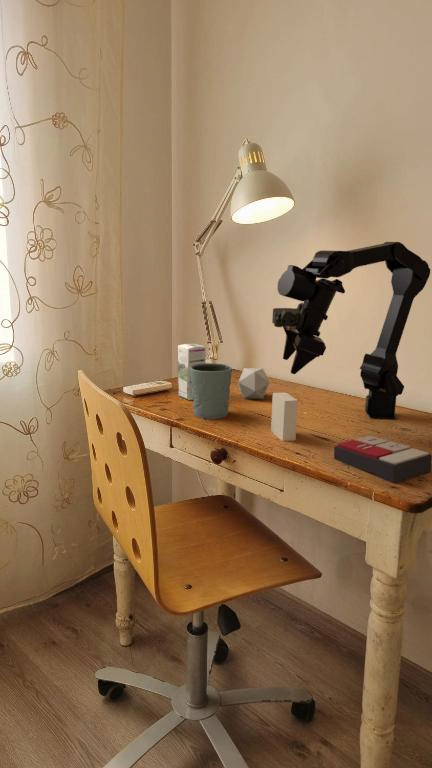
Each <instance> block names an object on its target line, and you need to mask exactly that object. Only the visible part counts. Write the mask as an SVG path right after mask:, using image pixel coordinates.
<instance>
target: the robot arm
mask: <svg viewBox="0 0 432 768" xmlns="http://www.w3.org/2000/svg"><path fill="white" fill-rule="evenodd" d="M381 262H384V263H385V266H386V268H387V270H388V271H390V273H391V274H392V275H391V281H390V283H391V287H392V292H393V294H392V297H391V300H390V303H389V306H388V309H387V313H386V316H385V319H384V323H383V326H382V328H381V331H380V335H379V338H378V341H377V343H376V346H375V349H374V350H373V351H371V353H365V354H364V355H363V359H362V364H361V366H360V367H359V369H360V377H361V380H362V383H363V387H364V389H365V390H368V395H366V396H365V404H364V405H365V406H364V411H365V413H366V415H368V417H369V418H371V419H392V420H393V419H397V416H396V414H395V413H396V405H397V404H396V403H397V397H398V396H400V395H402V394H403V391H404V389H405V385H404V384H403V383H402V381H401V380H400V379H399V377H398V370H399V364H398V358H397V351H398V349H399V346H400V342H401V339H402V337H403V333H404V330H405V327H406V323H407V322H408V318H409V315H410V312H411V308H412V306H413V302H414V299H415V298H416V296H417V295H419V294H420V292H422V291H423V289H424V288H425V286H426V285H427V282H428V280H429V279H430V275H431V268H430V266H429V263H428V262H427V261H426V260H424V259H422V258H421V256H419V254H418V255H417V254H416V253H414V252H413V251H412V250H410V249H408V248H407V247H406V246H405V244H404V243H402V242H400V241H385V242H384V243H380V244H379V243H378V244H374V245H370V246H369V245H368V246H365V247H360V248H359V247H358V248H354V249H351V250H323V249H322V250H318V251H317V252H315V253H314V256H313V257H312V260H311V261H310V262H309V263H307V264H306V265H305V266H304V267H303V268H301V267H299V266H297V265H293V264H289V265H287V269H286V270H285V271H284V272H283V273H282V274H281V276H280V278H279V279H278V281H277V292H278V294H279V295H281V296H282V297H286V298H289V299H292V300H297V301H300V303H298V305H297V307H296V308H295V307H294V308H292V307H279V308H278V307H274V308H273V309H272V319H271V321H272V324H273V325H274V327H275V328H282V329H283V331H284V334H285V343H284V350H283V356H282V359H283V360H285V361H287V360H289V359H290V358H291V357H292V355H293V354H294V353H295V355H294V357H293V362H292V365H291V369H290V374H292V375H296V374H297V373H298V372H300V371H301V370H302V369H303V368H305V366H307V365H308V364H310V363H311V362H312V361H313V360H315V359H316V358H319V357H320V356H324V354H325V352H326V349H327V346H326V343H325V342H324V341H323V339H322V338H321V337H320V335H321V332H320V329H321V326H322V323H323V322H324V321H327V320H328V318H329V316H328V315H327V313H328V311H329V308H330V306H331V304H332V302H333V300H334V297H335V296H336V293H337V292H338V293H340V294H345V293H346V290H345V288H344V286H343V281H341V280H340V279H338V278H340V277H342V276H345V275H348V274H349V273H351V272H352V271H353V270H354V269H356V268H359V267H363V266H369V265H373V264H377V263H381ZM329 278H336V279H334V280H329Z"/></svg>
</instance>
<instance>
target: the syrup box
mask: <svg viewBox="0 0 432 768" xmlns="http://www.w3.org/2000/svg"><path fill="white" fill-rule="evenodd" d="M202 363H206V346H204V345H200V344H196V343H183V344H178V345H177V396H178V397H181V398H183V399H185V400H187V401H194V399H193V393H192V392H193V391H192V389H193V386H192V382H191V370H190V368H191V366H193V365H196V364H202Z"/></svg>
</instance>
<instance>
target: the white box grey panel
mask: <svg viewBox="0 0 432 768" xmlns="http://www.w3.org/2000/svg"><path fill="white" fill-rule="evenodd" d="M271 402H272V403H271V420H270V421H271V424H270V432H271V433H272V432H273V433H272V434H274V435H275V436H276V437H277V438H278V439H280V440H281V441H282V442H287V441H288V442H289V441H296V437H297V422H298V421H297V419H298V405H299V402H298V399H296V398H294V397H293V396H292V395H290V394H288V393H286V392H273V393H272V401H271Z"/></svg>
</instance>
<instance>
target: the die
mask: <svg viewBox="0 0 432 768" xmlns="http://www.w3.org/2000/svg"><path fill="white" fill-rule="evenodd" d="M241 372H242V373H241V375H240V377H239V379H238V383H237V387H238V388H239V391H240V393H241V395H242V397H243V399H245V400H246V399H249V400H251V399H252V400H262V399H264V396H265V395H266V392H267V390H268V388H269V385H270V383H271V381H269V378H268V376H267V374H266V372H265V369H264V368H254V367H244V368H243V369H242V371H241Z"/></svg>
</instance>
